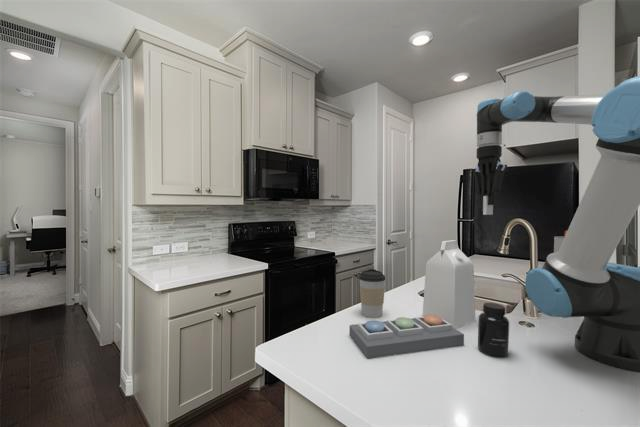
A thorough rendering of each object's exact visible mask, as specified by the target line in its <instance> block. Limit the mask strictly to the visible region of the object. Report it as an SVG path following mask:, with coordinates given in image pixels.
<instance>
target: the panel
mask: <svg viewBox="0 0 640 427" xmlns="http://www.w3.org/2000/svg"><path fill="white" fill-rule="evenodd" d="M408 318H409V319H412V320H413V321H414V328H411V329H403V330H401V329H399V328H398V327H397V326H395V320H396V319H388V320H386V321H381V320H379V321H380V322H382V323H384V332H377V333H369V332H368V331H367V330H366V322H362V323H361V322H360V323H357V324H350V325H349V337H350V336H351V337H350V338H351V339H352V341H353V340H354V341H353V342H354V343H355V345H356V344H357V345H356V346H357V347H358V348H359V350H360V351H361V352H362V354H363V355H364V357H366V359H367V360H368V359H374V358H382V357H388V355H390V356H395V355H394V354H397V355H402V354H403V353H404V354H410V353H416V352H417V353H418V352H426V351H432V350H433V351H434V350H439V349H444V348H445V349H446V348H452V347H453V348H455V347H459V346H465V334H464V333H463V332H461V331H460V330H458V329H455V328H453V327H452V324H450V323H448V322H447V321H445V320H443V319H442V325H437V326H429V325H428V324H426V323H425V322H424V317H422V316H417V317H416V316H415V317H413V318H410V317H408Z"/></svg>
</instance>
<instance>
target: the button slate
mask: <svg viewBox="0 0 640 427" xmlns="http://www.w3.org/2000/svg"><path fill="white" fill-rule="evenodd" d="M380 321H381V320H375V319H373V320H372V319H371V320H368V321H366V322H365V323H366V330H367V331H368V332H369V333H377V332H384V323H382V322H383V321H382V322H380Z"/></svg>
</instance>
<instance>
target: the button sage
mask: <svg viewBox="0 0 640 427" xmlns="http://www.w3.org/2000/svg"><path fill="white" fill-rule="evenodd" d="M409 318H410V317H404V316H403V317H396V318H395V319H394V320H395V326H397V327H398V328H399V329H401V330H403V329H411V328H414V321H413V320H412V318H410V319H409Z"/></svg>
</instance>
